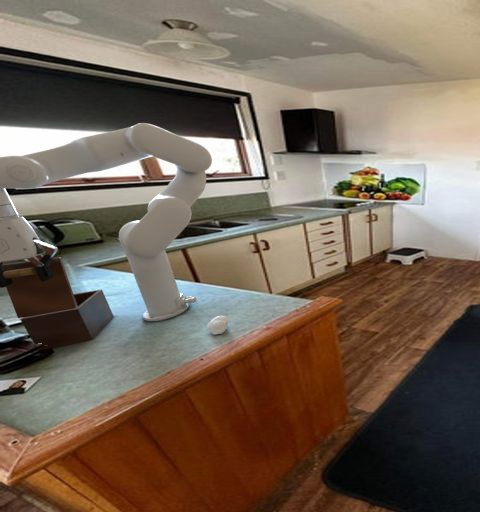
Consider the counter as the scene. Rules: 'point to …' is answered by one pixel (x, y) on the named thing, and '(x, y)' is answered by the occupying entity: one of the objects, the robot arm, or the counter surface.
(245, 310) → the counter surface
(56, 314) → the box
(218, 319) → the dumpling
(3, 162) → the robot arm
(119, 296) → the counter surface
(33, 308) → the lid
